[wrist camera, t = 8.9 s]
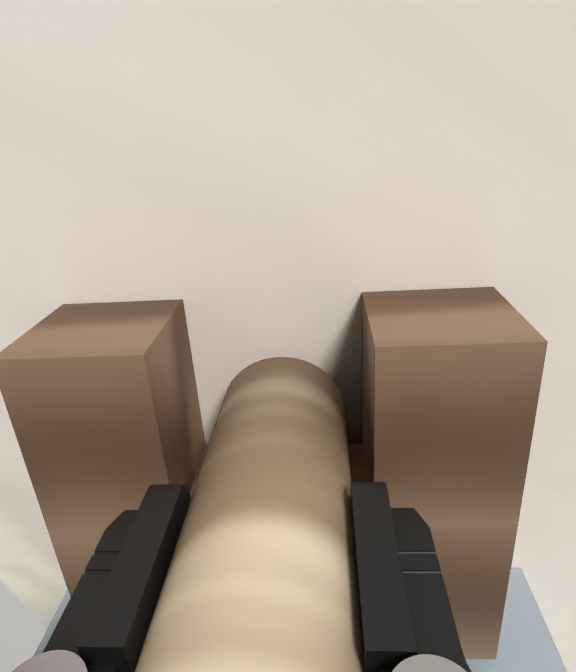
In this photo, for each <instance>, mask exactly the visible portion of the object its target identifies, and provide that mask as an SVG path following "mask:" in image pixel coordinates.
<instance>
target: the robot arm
mask: <svg viewBox="0 0 576 672" xmlns="http://www.w3.org/2000/svg"><path fill="white" fill-rule="evenodd" d="M350 494H351V510H352V522H353V535H354V547H355V559H356V571H357V584H358V596H359V608H360V621H361V633H362V645H363V658H364V670H365V672H472V671H471V670H470V668H469V666H468V664H467V662H466V660H465V657H464V654H463V651H462V647H461V644H460V640H459V636H458V632H457V629H456V625H455V621H454V617H453V613H452V610H451V606H450V602H449V598H448V595H447V591H446V587H445V583H444V580H443V576H442V575H441V568H440V564H439V561H438V557H437V555H436V549H435V546H434V542H433V538H432V534H431V530H430V527H429V526H428V525H427V523H426V522H425V521H424V520H423V518H422V517H421V516H420V515H419V513H418V512H417V511H416V510H415V508H391V506H390V501H389V495H388V489H387V485H386V482H351V483H350ZM190 501H191V496H190V491H189V488H188V486H187V485H186V484H152V485H150V486H149V488H148V489H147V491H146V494H145V496H144V498H143V500H142V503H141V505H140V507H139V509H138V510H124V511H123V512H122V513H121V514H120V515H119V516H118V517H117V518H116V519H115V520H114V521H113V522H112V523H111V524H110V525H109V526H108V527H107V528H106V529H105V531H104V533H103V535H102V537H101V539H100V541H99V543H98V545H97V547H96V549H95V551H94V555H92V556H91V558H90V560H89V562H88V564H87V566H86V568H85V574H82V576H81V578H80V580H79V582H78V584H77V586H76V588H75V590H74V592H73V594H72V596H71V598H70V600H69V602H68V604H67V606H66V608H65V610H64V612H63V614H62V616H61V618H60V620H59V621H58V623H57V625H56V627H55V629H54V631H53V633H52V635H51V637H50V639H49V641H48V643H47V645H46V647H45V649H44V650H43V652H42V653H41V654H39V655H36V656H34V657H32V658H31V659H29V660H27V661H25V662H24V663H22V664H21V665H20V666H18V667H17V668H16V669H15V670H14V671H12V672H135V669H136V666H137V663H138V660H139V657H140V654H141V651H142V648H143V644H144V641H145V638H146V635H147V632H148V629H149V626H150V623H151V620H152V617H153V614H154V611H155V608H156V605H157V602H158V599H159V596H160V593H161V590H162V587H163V584H164V580H165V577H166V574H167V571H168V568H169V565H170V562H171V559H172V556H173V553H174V550H175V547H176V544H177V541H178V538H179V535H180V532H181V529H182V526H183V523H184V520H185V516H186V513H187V510H188V507H189V504H190Z"/></svg>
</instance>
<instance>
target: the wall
mask: <svg viewBox="0 0 576 672" xmlns="http://www.w3.org/2000/svg"><path fill="white" fill-rule="evenodd" d="M70 598H71V597H70V594H69V591H67V593H66V595H65V597H64V598H63V600H62V602H61V604H60V606H59V608H58V610H57V612H56V614H55V616H54V618H53V620H52V621H51V623H50V625H49V627H48V629H47V631H46V633H45V635H44V637H43V639H42V641H41V643H40V645H39V646H38V649H37V650H36V652H35V654H34V656H36V655H39V654H41V653H42V652H43V650H44V649H45V647H46V645H47V643H48V641H49V639H50V637H51V635H52V633H53V631H54V629H55V627H56V625H57V623H58V621H59V620H60V618H61V616H62V614H63V612H64V610H65V608H66V606H67V604H68V602H69V600H70ZM34 656H33V657H34ZM465 660H466V662H467V664H468V666H469V668H470V670H471V671H472V672H567V670H566V668H565V666H564V664H563V661H562V659H561V657H560V655H559V652H558V650H557V648H556V646H555V643H554V641H553V639H552V637H551V634H550V632H549V630H548V628H547V625H546V623H545V621H544V618H543V616H542V614H541V612H540V609H539V607H538V605H537V603H536V600H535V598H534V596H533V594H532V591H531V589H530V587H529V585H528V582H527V580H526V578H525V576H524V573H523V571H522V569H521V568H511V570H510V576H509V583H508V589H507V595H506V601H505V607H504V613H503V620H502V626H501V632H500V638H499V644H498V650H497V657H496V659H465Z"/></svg>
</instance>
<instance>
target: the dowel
mask: <svg viewBox="0 0 576 672" xmlns="http://www.w3.org/2000/svg"><path fill="white" fill-rule="evenodd" d="M350 483H351V475H350V463H349V452H348V440H347V428H346V417H345V406H344V400H343V396H342V394H341V392H340V389H339V388H338V386H337V385H336V383H335V382H334V381H333V379H332V378H331V377H330V376H329V375H328V374H327V373H326V372H324V371H323V370H322V369H320V368H319V367H317V366H315V365H313V364H311V363H309V362H306V361H303V360H299V359H295V358H288V357H277V358H269V359H264V360H261V361H258V362H256V363H254V364H252V365H250V366H248V367H246V368H245V369H243V370H242V371H241V372H240V373H239V374H238V375H237V376H236V377H235V378H234V379H233V380H232V382H231V384H230V385H229V387H228V389H227V392H226V395H225V398H224V401H223V404H222V407H221V410H220V413H219V416H218V419H217V422H216V425H215V428H214V431H213V434H212V437H211V440H210V443H209V446H208V449H207V452H206V456H205V459H204V462H203V465H202V468H201V471H200V474H199V477H198V480H197V483H196V486H195V489H194V492H193V495H192V498H191V501H190V504H189V507H188V510H187V513H186V516H185V520H184V523H183V526H182V529H181V532H180V535H179V538H178V541H177V544H176V547H175V550H174V553H173V556H172V559H171V562H170V565H169V568H168V571H167V574H166V577H165V580H164V584H163V587H162V590H161V593H160V596H159V599H158V602H157V605H156V608H155V611H154V614H153V617H152V620H151V623H150V626H149V629H148V632H147V635H146V638H145V641H144V644H143V648H142V651H141V654H140V657H139V660H138V663H137V666H136V669H135V672H365V670H364V658H363V645H362V633H361V621H360V608H359V596H358V584H357V571H356V559H355V547H354V535H353V522H352V510H351V494H350Z"/></svg>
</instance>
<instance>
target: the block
mask: <svg viewBox="0 0 576 672" xmlns="http://www.w3.org/2000/svg"><path fill="white" fill-rule="evenodd" d="M546 348H547V341H546V340H545V339H544V338H543V337H542V336H541V335H540V334H539V333H538V332H537V331H536V330H535V329H534V328H533V326H532V325H531V324H530V323H529V322H528V321H527V320H526V319H525V318H524V317H523V316H522V315H521V314H520V313H519V312H518V311H517V310H516V309H515V308H514V307H513V306H512V305H511V304H510V303H509V302H508V301H507V300H506V299H505V298H504V297H503V296H502V295H501V294H500V293H499V292H498V291H497V290H496V289H495V288H494V287H482V288H457V289H433V290H408V291H383V292H362V443H348V452H349V463H350V475H351V482H386V485H387V489H388V495H389V501H390V506H391V508H415V510H416V511H417V512H418V513H419V515H420V516H421V517H422V518H423V520H424V521H425V522H426V523H427V525H428V526H429V527H430V530H431V534H432V538H433V542H434V546H435V549H436V555H437V557H438V561H439V564H440V568H441V575H442V576H443V580H444V583H445V587H446V591H447V595H448V598H449V602H450V606H451V610H452V613H453V617H454V621H455V625H456V629H457V632H458V636H459V640H460V644H461V647H462V651H463V654H464V657H465V659H496V657H497V650H498V644H499V638H500V632H501V626H502V620H503V613H504V607H505V601H506V595H507V589H508V583H509V576H510V570H511V564H512V558H513V552H514V546H515V539H516V533H517V527H518V521H519V515H520V509H521V502H522V496H523V490H524V484H525V478H526V472H527V465H528V459H529V453H530V447H531V441H532V435H533V428H534V422H535V416H536V410H537V404H538V398H539V391H540V385H541V379H542V373H543V367H544V361H545V354H546ZM0 390H1V393H2V396H3V399H4V402H5V405H6V408H7V411H8V414H9V417H10V419H11V422H12V425H13V428H14V431H15V434H16V437H17V440H18V443H19V446H20V449H21V452H22V455H23V458H24V461H25V464H26V467H27V470H28V473H29V476H30V479H31V482H32V485H33V488H34V490H35V493H36V496H37V499H38V502H39V505H40V508H41V511H42V514H43V517H44V520H45V523H46V526H47V529H48V532H49V535H50V538H51V541H52V544H53V547H54V550H55V553H56V556H57V559H58V561H59V564H60V567H61V570H62V573H63V576H64V579H65V582H66V585H67V588H68V591H69V594H70V597H71V596H72V594H73V592H74V590H75V588H76V586H77V584H78V582H79V580H80V578H81V576H82V574H85V568H86V566H87V564H88V562H89V560H90V558H91V556H92V555H94V551H95V549H96V547H97V545H98V543H99V541H100V539H101V537H102V535H103V533H104V531H105V529H106V528H107V527H108V526H109V525H110V524H111V523H112V522H113V521H114V520H115V519H116V518H117V517H118V516H119V515H120V514H121V513H122V512H123V511H124V510H138V509H139V507H140V505H141V503H142V500H143V498H144V496H145V494H146V491H147V489H148V488H149V486H150V485H152V484H186V485H187V486H188V488H189V491H190V496H191V498H192V495H193V492H194V489H195V486H196V483H197V480H198V477H199V474H200V471H201V468H202V465H203V462H204V459H205V456H206V452H207V449H208V446H205V439H204V433H203V426H202V420H201V413H200V407H199V401H198V394H197V388H196V381H195V375H194V369H193V362H192V356H191V349H190V343H189V337H188V330H187V324H186V317H185V311H184V304H183V300H161V301H137V302H112V303H87V304H63V305H61V306H60V307H59V308H58V309H56V310H55V311H54V312H52V313H51V314H50V315H48V316H47V317H46V318H44V319H43V320H42V321H40V322H39V323H38V324H37V325H35V326H34V327H33V328H31V329H30V330H29V331H27V332H26V333H25V334H23V335H22V336H21V337H20V338H18V339H17V340H16V341H14V342H13V343H12V344H10V345H9V346H8V347H6V348H5V349H4V350H2V351H1V352H0Z"/></svg>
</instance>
